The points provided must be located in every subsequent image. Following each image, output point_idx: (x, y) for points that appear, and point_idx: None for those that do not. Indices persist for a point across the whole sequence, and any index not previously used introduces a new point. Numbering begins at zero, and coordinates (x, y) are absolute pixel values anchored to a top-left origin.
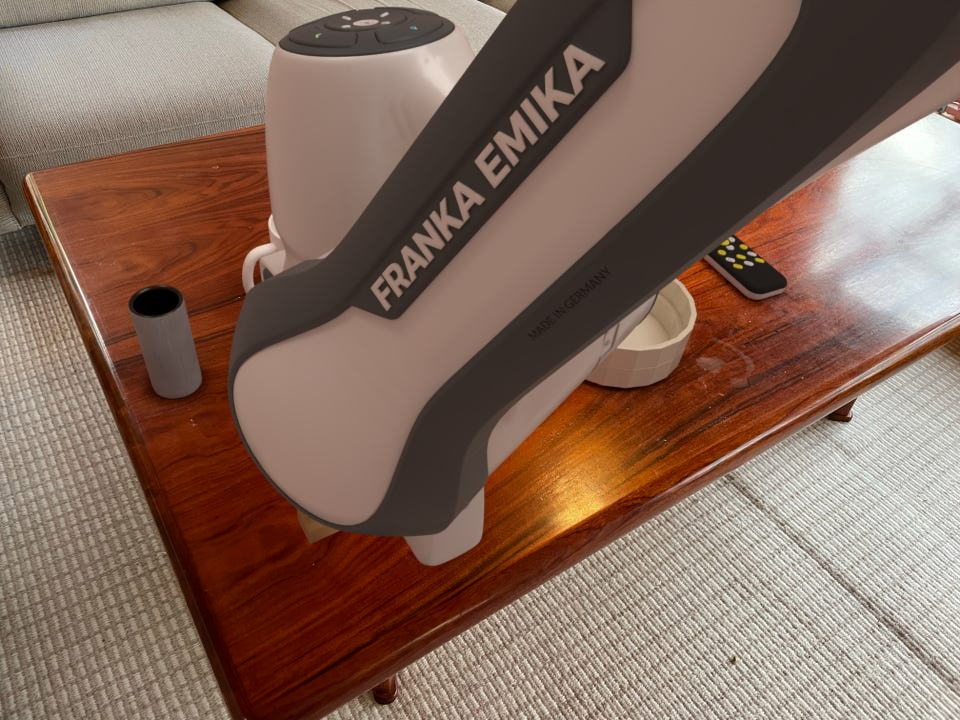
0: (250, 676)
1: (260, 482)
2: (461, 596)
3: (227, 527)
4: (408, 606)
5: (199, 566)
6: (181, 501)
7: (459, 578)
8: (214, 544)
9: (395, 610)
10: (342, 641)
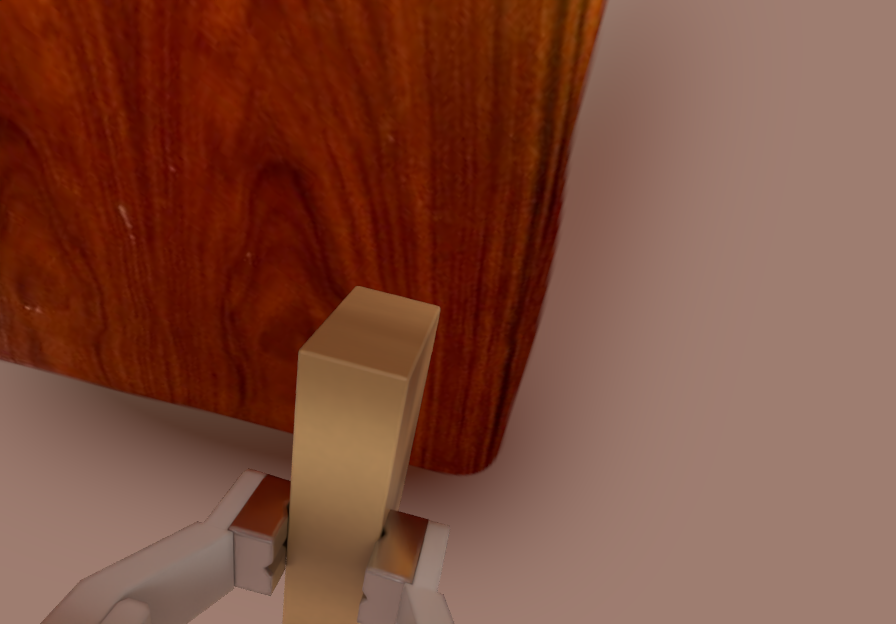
0: (443, 465)
1: (182, 301)
2: (562, 197)
3: (236, 375)
4: (508, 276)
5: (275, 426)
6: (169, 391)
7: (533, 173)
8: (254, 399)
9: (499, 295)
10: (483, 374)
